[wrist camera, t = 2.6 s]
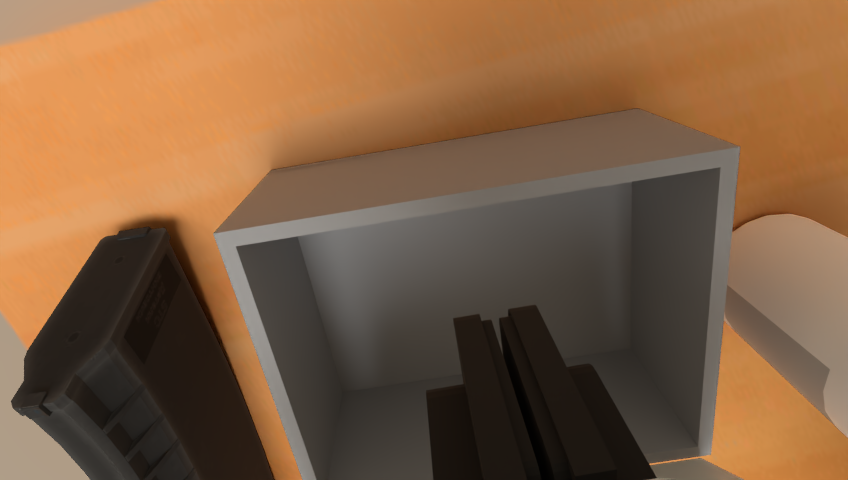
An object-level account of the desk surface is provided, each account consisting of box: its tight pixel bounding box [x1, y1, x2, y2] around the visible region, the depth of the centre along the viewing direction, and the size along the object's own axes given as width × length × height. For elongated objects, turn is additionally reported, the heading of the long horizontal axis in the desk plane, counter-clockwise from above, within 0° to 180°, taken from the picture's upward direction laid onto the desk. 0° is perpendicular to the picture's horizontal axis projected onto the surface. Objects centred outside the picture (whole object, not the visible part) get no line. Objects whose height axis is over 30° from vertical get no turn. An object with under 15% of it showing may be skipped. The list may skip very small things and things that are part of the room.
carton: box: [213, 108, 740, 480], centre depth 23 cm, size 18×14×8 cm
